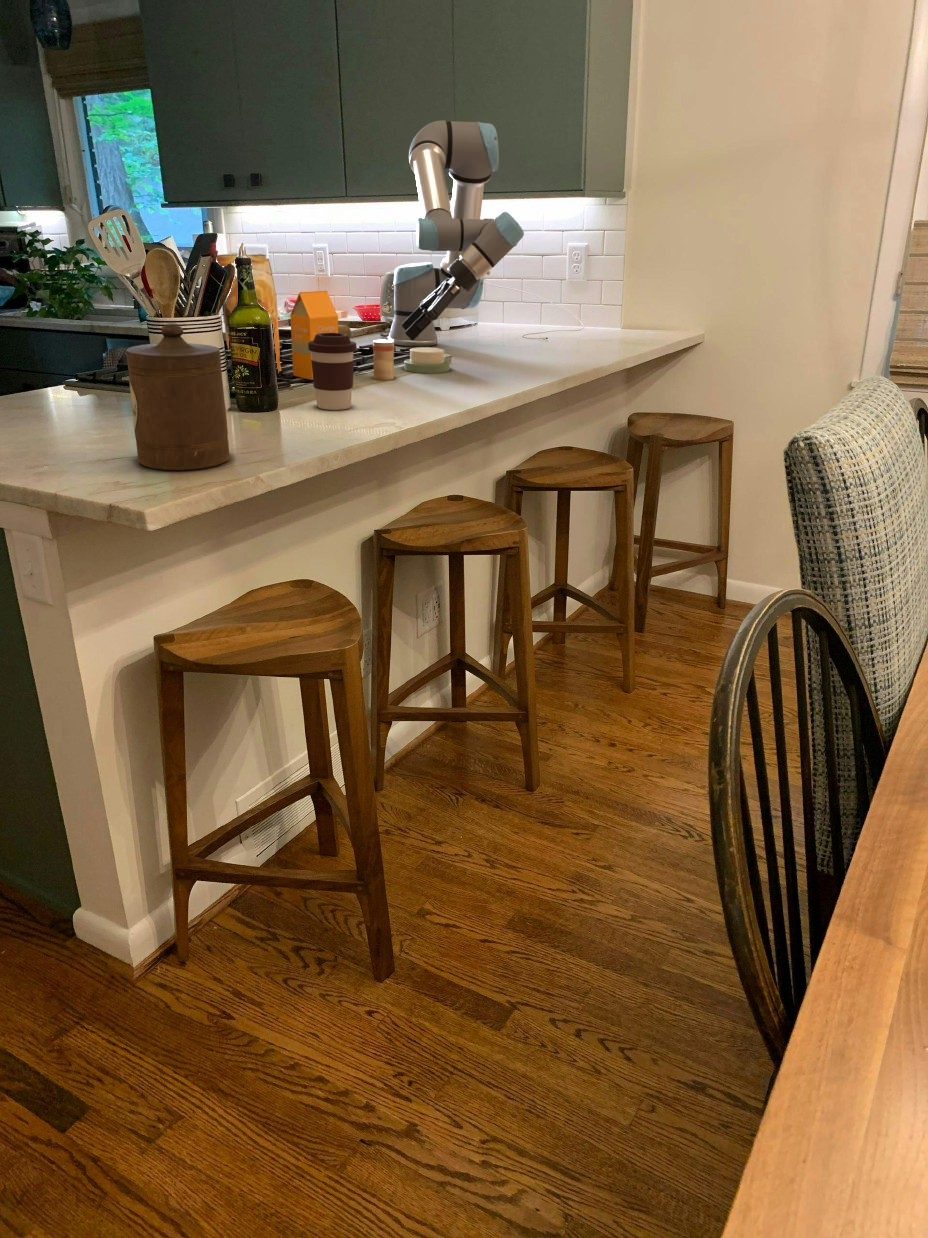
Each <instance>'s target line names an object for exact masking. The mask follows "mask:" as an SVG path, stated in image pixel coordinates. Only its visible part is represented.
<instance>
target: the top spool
mask: <svg viewBox="0 0 928 1238" xmlns="http://www.w3.org/2000/svg"><path fill="white" fill-rule="evenodd" d="M372 342H373V344H372V351H373V379H374V380H377V381H392V380H394V379H395V363H394V362H395V353H394V352H395V345H394V341H392V340H388V339H375V340H373V341H372Z"/></svg>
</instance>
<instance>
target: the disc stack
mask: <svg viewBox="0 0 928 1238" xmlns="http://www.w3.org/2000/svg"><path fill="white" fill-rule="evenodd" d="M403 364H404V365H403V366H404V367H403V370H405V371H407V372H411V373H417V374H418V373H420V374H441V373H447V372H450V366H451V365H450V364H451V363H450V361H449V360H448V359H447V360H446V359H445V349H443V348H438V347H430V346H418V347H412V348H410V349H409V358H408V359H404V361H403Z"/></svg>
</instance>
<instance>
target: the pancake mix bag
mask: <svg viewBox="0 0 928 1238" xmlns="http://www.w3.org/2000/svg"><path fill="white" fill-rule="evenodd" d="M238 254H239V253H230V254H229V253H228V254H227V253H226V254H217V261H218V263H219V264H220V265H221V266H227V265H228V264H230V263H234V261H235V259H236V257H237V255H238ZM245 255H246V256H247V257H248V258H250V259H251V260H252V270H253V277H254V282H255V289H256V295H257V300H258V303H259V304H260V305H261V306H262V307H264V308H265V309H266V311H267V312H268V313H269V314H270V316H271V320H272V324H273V333H274V342H275V353H276V361H277V368H278V373H277V374H280V372H281V371H282V366H281V358H280V357H281V352H280V336H279V335H280V334H279V333H280V332H279V312H278V302H277V294H276V287H275V282H274V277H273V271H272V267H271V262H270V258H267V255H266V254H263V253H262V254H259V253H258V254H245ZM237 302H238V284H237V277H236V276H235V279H234V281H233V284H232V288H231V292H230V294H229V296H228V298H227V301H226V302H225V305H224V313H223V314H224V318H223V322H224V329H225V339H226V340H225V341H226V346H227V350H228V351H229V336H228V334H229V318H230V315H231V313H232V311H233V310H234V308H235V307H236V305H237Z"/></svg>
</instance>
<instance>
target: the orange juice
mask: <svg viewBox="0 0 928 1238" xmlns="http://www.w3.org/2000/svg"><path fill="white" fill-rule="evenodd" d="M292 307H293V308H292V310H291V313H290V333H291V335H290V336H291V356H292V357H291V358H292V376H294V377H296V378H297V377H298V378H301V379H306V380H310V381H313V373H312V363H311V360H312V352H311V351H310V350H309V349H308V342H310V341H313V340H314V338H315V335H316V334H319V333H338V325H339V315H338V313H337V311H336V308H335V306H334V304H333V302H332V299H331V297H330V294H329V292H328V290H315V291H300V292H298V295H297V298H296V300H295V303H294V305H293V306H292Z"/></svg>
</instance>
